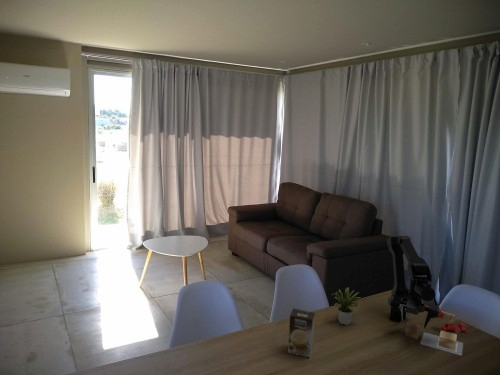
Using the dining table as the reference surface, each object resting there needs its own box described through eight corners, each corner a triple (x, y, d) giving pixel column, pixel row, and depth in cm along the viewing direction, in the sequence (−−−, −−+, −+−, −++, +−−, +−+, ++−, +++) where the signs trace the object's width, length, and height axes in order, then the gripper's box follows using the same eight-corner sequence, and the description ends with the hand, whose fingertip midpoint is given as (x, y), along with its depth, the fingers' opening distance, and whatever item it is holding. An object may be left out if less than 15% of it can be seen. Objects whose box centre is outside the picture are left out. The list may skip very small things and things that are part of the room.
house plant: (342, 334, 164) (344, 298, 162) (321, 319, 176) (323, 286, 174) (366, 326, 171) (368, 292, 169) (344, 313, 183) (346, 281, 181)
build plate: (420, 345, 157) (420, 343, 157) (423, 334, 166) (424, 332, 166) (461, 358, 149) (461, 355, 149) (462, 345, 158) (463, 342, 158)
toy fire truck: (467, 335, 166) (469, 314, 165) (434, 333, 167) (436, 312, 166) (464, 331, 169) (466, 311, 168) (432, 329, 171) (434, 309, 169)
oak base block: (438, 345, 155) (439, 336, 155) (439, 339, 160) (440, 330, 160) (455, 350, 152) (456, 341, 152) (456, 343, 157) (457, 334, 157)
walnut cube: (404, 338, 163) (405, 327, 162) (406, 333, 167) (407, 322, 166) (417, 341, 160) (418, 330, 159) (419, 336, 164) (420, 325, 163)
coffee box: (287, 353, 149) (288, 315, 147) (290, 345, 155) (292, 308, 153) (310, 358, 146) (312, 319, 144) (313, 349, 152) (315, 312, 150)
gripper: (389, 291, 158) (386, 326, 161) (438, 303, 149) (434, 340, 151) (394, 283, 168) (391, 316, 170) (441, 293, 158) (437, 328, 160)
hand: (412, 325), depth 163 cm, fingers open, 9 cm apart
